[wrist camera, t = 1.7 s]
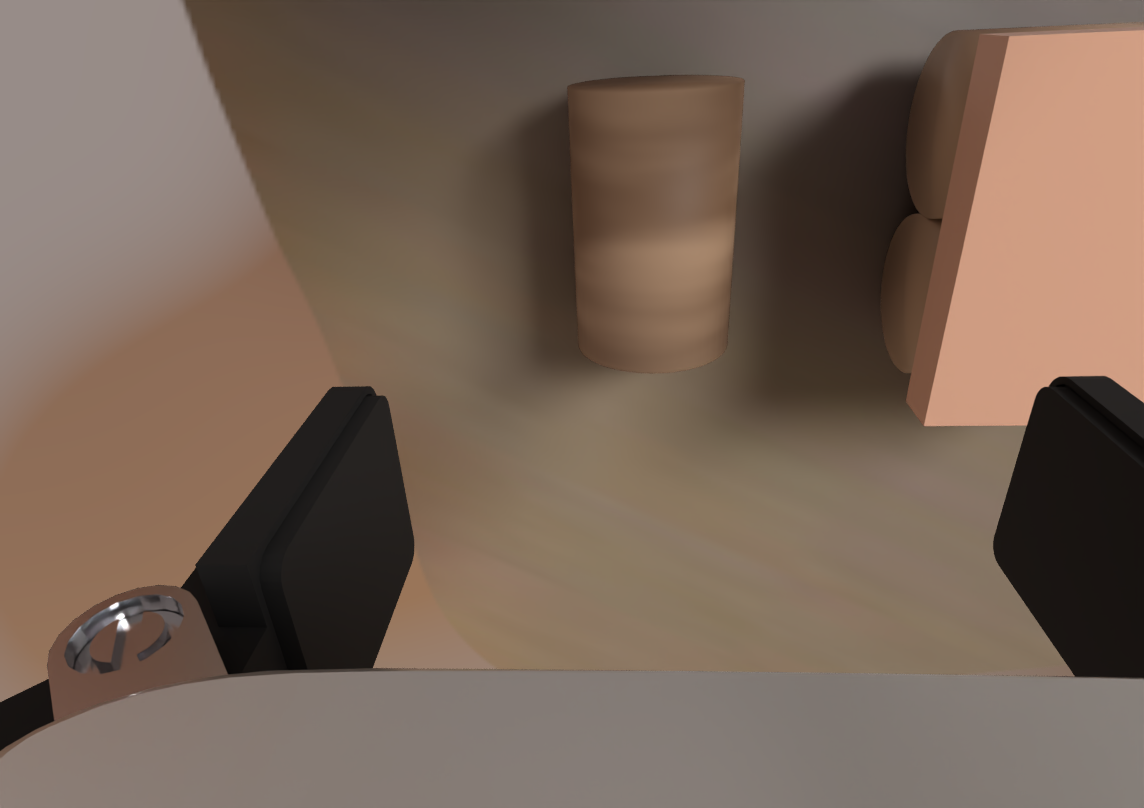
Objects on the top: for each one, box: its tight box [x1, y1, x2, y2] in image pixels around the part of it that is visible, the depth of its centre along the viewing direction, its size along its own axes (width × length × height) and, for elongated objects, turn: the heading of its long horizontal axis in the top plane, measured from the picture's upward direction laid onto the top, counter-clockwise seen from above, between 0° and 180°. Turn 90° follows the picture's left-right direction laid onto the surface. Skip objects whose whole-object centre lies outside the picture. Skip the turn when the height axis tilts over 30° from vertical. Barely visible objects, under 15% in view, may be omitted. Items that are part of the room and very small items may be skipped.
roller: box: [567, 75, 745, 373], centre depth 23 cm, size 8×5×5 cm, turn 2°
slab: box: [881, 22, 1144, 426], centre depth 21 cm, size 10×9×6 cm
